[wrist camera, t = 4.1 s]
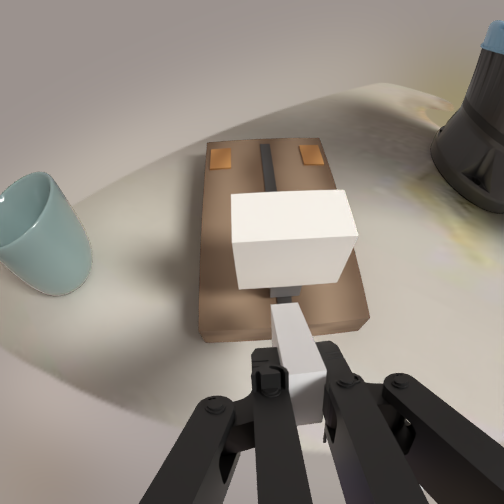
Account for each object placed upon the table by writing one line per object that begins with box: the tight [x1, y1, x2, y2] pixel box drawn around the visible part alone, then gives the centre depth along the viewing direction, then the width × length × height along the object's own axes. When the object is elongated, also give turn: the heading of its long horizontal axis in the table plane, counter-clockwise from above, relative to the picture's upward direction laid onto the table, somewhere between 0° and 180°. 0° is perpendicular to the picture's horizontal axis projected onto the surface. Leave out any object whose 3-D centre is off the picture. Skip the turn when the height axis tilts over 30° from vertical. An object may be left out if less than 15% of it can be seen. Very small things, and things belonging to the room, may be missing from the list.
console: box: [199, 138, 370, 343], centre depth 27 cm, size 12×20×3 cm, turn 3°
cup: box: [0, 172, 92, 296], centre depth 22 cm, size 8×8×10 cm
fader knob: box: [231, 190, 359, 298], centre depth 18 cm, size 6×3×8 cm, turn 93°
